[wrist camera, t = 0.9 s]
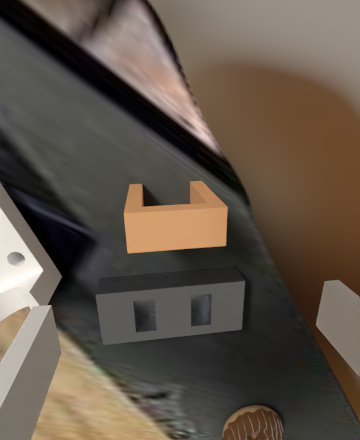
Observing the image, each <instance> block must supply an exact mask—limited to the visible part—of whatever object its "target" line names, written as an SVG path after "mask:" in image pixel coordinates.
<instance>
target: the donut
mask: <svg viewBox="0 0 360 440" xmlns="http://www.w3.org/2000/svg"><path fill="white" fill-rule="evenodd" d="M282 434H283V423H282V421H281V419H280V417H279V416H278V415H277V414H276V413H275V412H274V411H273V410H272V409H270V408H268V407H266V406H263V405H249V406H246V407H243V408H241V409H238V410H237V411H235V412H234V413H233V414H232V415H231V416H230V417H229V418H228V419H227V421H226V423H225V425H224V428H223V440H281V439H282Z"/></svg>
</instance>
